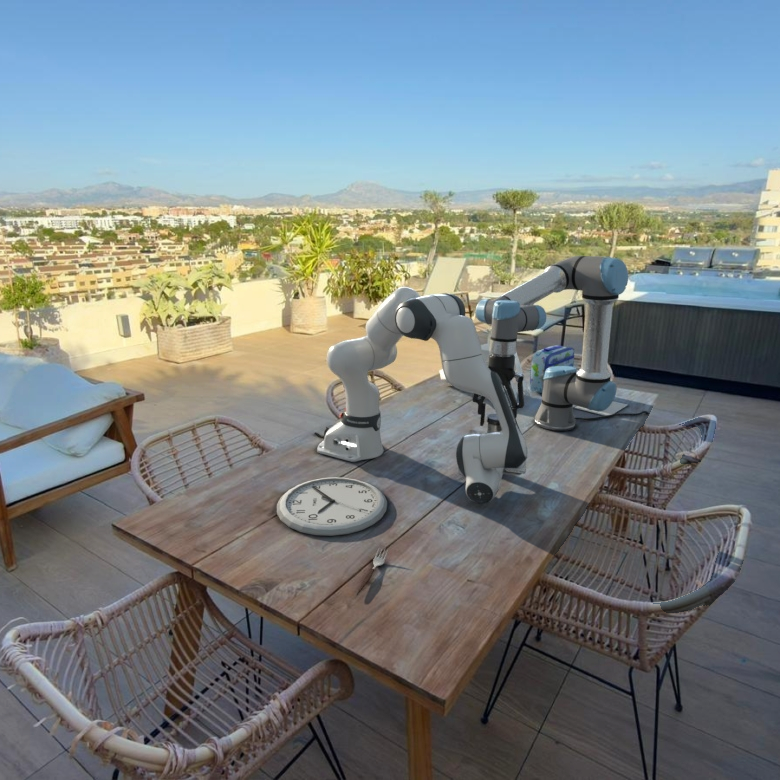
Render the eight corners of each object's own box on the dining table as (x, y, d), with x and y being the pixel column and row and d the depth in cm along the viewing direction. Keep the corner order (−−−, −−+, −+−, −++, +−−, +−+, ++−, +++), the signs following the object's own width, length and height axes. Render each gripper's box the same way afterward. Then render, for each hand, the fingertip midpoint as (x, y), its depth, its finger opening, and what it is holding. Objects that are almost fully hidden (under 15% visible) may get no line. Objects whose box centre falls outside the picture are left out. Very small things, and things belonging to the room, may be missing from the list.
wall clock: (392, 527, 129) (268, 531, 127) (391, 533, 130) (269, 537, 127) (383, 473, 158) (282, 475, 155) (383, 478, 158) (282, 480, 156)
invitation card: (608, 416, 214) (573, 407, 224) (608, 416, 214) (573, 408, 224) (628, 404, 229) (594, 396, 238) (628, 405, 229) (594, 397, 238)
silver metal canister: (503, 473, 163) (508, 420, 158) (488, 475, 162) (493, 421, 156) (496, 466, 168) (500, 414, 162) (481, 468, 166) (485, 415, 161)
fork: (350, 595, 108) (350, 587, 107) (378, 552, 122) (379, 545, 122) (362, 598, 107) (362, 590, 106) (389, 555, 121) (389, 547, 121)
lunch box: (546, 398, 236) (551, 353, 229) (525, 393, 243) (529, 349, 237) (573, 387, 253) (579, 344, 247) (553, 382, 260) (558, 341, 254)
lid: (509, 424, 158) (510, 419, 157) (492, 426, 156) (492, 420, 156) (501, 418, 163) (501, 413, 163) (484, 419, 162) (484, 414, 161)
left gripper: (526, 464, 147) (529, 445, 159) (454, 453, 153) (463, 436, 166) (524, 484, 149) (527, 464, 161) (453, 473, 155) (462, 454, 167)
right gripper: (539, 355, 153) (531, 427, 160) (470, 348, 160) (465, 417, 167) (537, 360, 147) (529, 436, 153) (464, 353, 153) (460, 425, 160)
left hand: (494, 450), depth 163 cm, fingers closed on silver metal canister, 5 cm apart
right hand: (495, 426), depth 160 cm, fingers open, 8 cm apart
